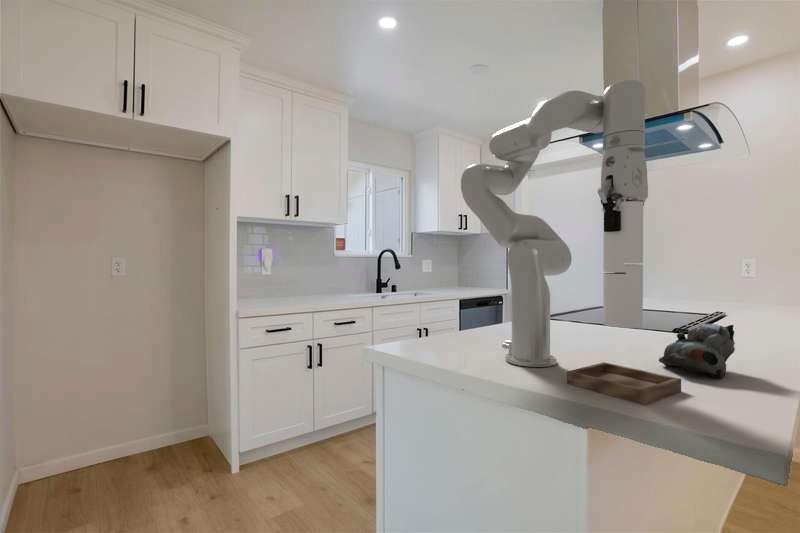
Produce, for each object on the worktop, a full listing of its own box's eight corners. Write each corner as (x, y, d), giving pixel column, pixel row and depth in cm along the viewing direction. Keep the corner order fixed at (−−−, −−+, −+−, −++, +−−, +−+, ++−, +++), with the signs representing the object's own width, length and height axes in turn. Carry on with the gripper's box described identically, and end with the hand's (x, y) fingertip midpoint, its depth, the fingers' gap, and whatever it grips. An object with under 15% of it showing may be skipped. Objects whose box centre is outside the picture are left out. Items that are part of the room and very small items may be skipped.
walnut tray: (567, 383, 87) (567, 371, 87) (604, 372, 95) (604, 362, 95) (645, 405, 74) (645, 391, 74) (681, 391, 81) (681, 378, 81)
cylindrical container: (648, 328, 80) (649, 200, 79) (609, 327, 81) (609, 202, 81) (635, 322, 87) (635, 205, 86) (599, 322, 88) (599, 206, 88)
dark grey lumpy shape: (653, 362, 104) (676, 314, 105) (707, 387, 99) (731, 336, 100) (666, 358, 91) (692, 302, 92) (729, 386, 85) (756, 327, 86)
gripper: (618, 133, 75) (617, 229, 76) (663, 147, 85) (663, 232, 85) (581, 143, 82) (580, 232, 82) (627, 155, 91) (627, 234, 92)
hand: (622, 231), depth 84 cm, fingers closed on cylindrical container, 7 cm apart
